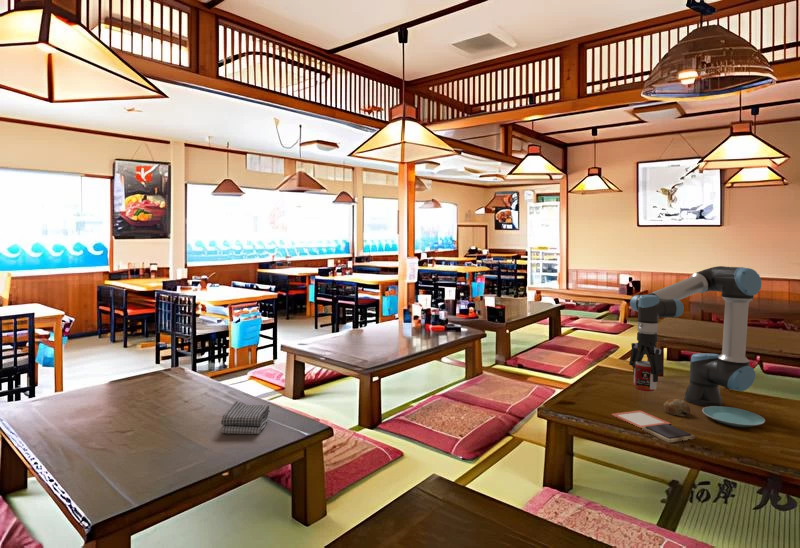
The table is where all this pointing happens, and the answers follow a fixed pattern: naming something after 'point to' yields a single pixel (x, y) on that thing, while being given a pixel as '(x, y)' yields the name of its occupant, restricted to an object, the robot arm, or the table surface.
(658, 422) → the print sheet
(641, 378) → the canned food
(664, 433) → the ink pad
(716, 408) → the plate
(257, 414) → the towel
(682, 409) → the bread roll
